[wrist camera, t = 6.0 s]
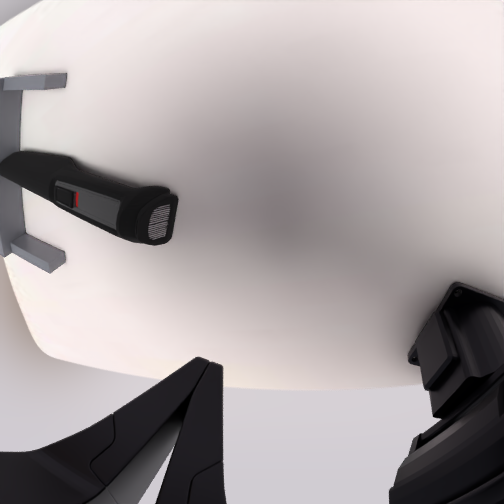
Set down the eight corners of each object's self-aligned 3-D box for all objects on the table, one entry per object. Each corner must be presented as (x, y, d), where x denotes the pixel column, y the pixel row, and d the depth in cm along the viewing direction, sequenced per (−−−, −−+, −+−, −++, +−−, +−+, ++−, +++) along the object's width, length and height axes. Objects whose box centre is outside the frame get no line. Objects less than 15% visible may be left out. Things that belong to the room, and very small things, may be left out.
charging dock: (66, 73, 16) (29, 76, 13) (65, 262, 23) (38, 282, 20) (14, 76, 17) (-19, 81, 14) (18, 238, 24) (-7, 254, 21)
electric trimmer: (25, 136, 20) (-5, 145, 17) (182, 188, 18) (154, 206, 15) (24, 178, 22) (-3, 190, 19) (172, 242, 20) (146, 266, 17)
